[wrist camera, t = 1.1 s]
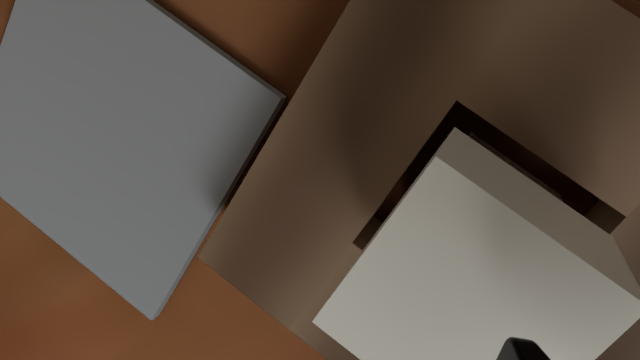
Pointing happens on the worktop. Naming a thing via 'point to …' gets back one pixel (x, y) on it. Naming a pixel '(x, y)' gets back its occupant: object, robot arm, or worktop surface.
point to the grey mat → (124, 135)
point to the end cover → (482, 269)
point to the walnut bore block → (420, 124)
